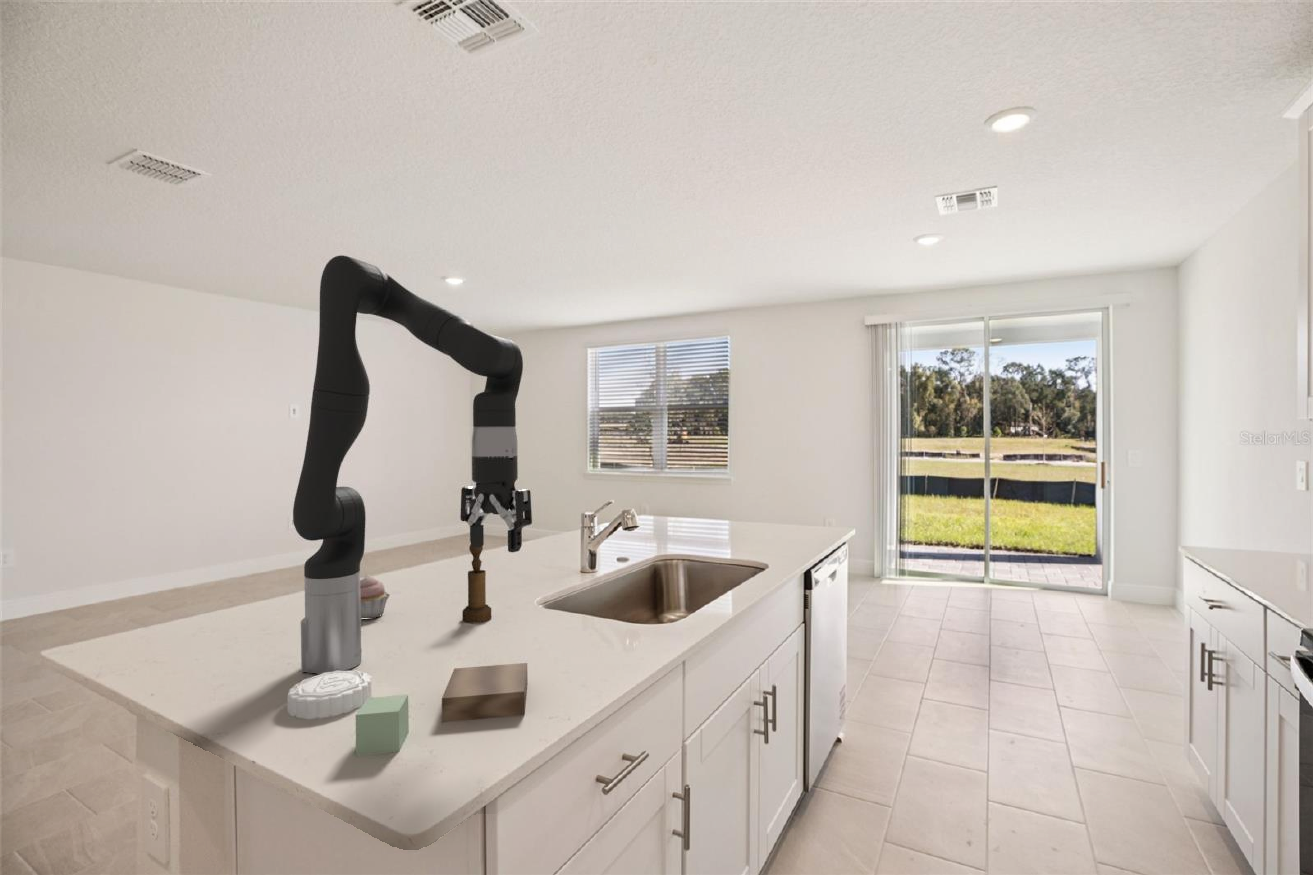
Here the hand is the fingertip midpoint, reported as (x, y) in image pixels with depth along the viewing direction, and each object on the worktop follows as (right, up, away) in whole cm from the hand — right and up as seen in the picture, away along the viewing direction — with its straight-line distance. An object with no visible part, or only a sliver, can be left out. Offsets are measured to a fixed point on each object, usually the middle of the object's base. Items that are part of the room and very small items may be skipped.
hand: (495, 549), depth 105 cm
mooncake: (-25, -24, -5) cm, 35 cm away
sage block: (-11, -24, -19) cm, 32 cm away
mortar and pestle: (-14, -24, +39) cm, 48 cm away
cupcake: (-41, -24, +43) cm, 64 cm away
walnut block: (0, -24, -6) cm, 24 cm away
